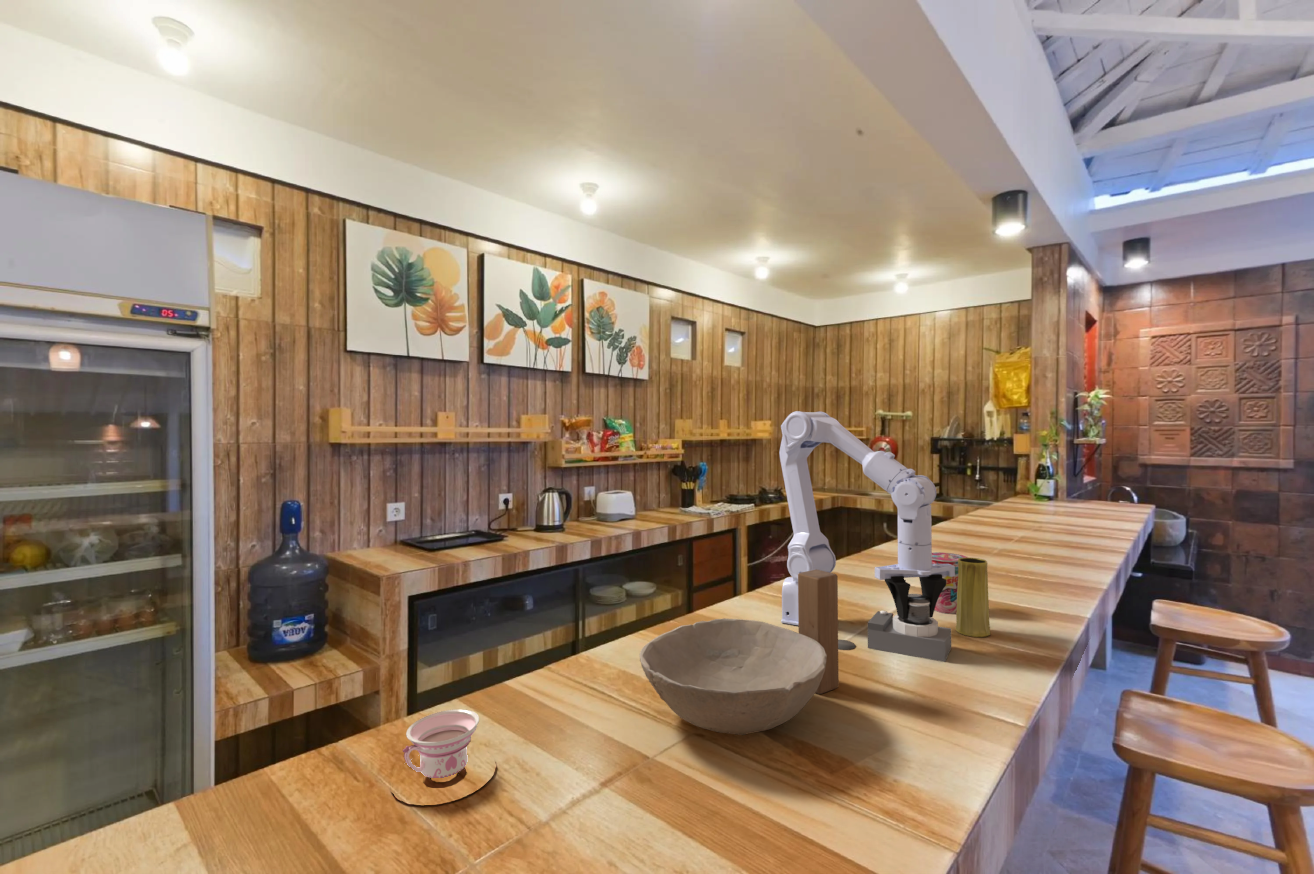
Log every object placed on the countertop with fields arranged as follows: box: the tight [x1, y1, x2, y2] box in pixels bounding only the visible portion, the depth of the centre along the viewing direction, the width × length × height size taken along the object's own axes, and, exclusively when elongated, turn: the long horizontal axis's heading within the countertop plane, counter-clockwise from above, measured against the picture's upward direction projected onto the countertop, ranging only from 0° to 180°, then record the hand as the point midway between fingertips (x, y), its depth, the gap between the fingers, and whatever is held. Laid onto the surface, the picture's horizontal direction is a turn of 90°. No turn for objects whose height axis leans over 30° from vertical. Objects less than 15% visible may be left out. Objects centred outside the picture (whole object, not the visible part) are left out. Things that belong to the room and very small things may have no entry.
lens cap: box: [838, 639, 856, 651], centre depth 113 cm, size 5×5×1 cm
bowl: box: [639, 618, 827, 736], centre depth 85 cm, size 26×26×10 cm
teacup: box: [402, 708, 480, 779], centre depth 72 cm, size 12×12×6 cm
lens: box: [904, 593, 930, 625], centre depth 110 cm, size 4×4×6 cm
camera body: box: [867, 610, 952, 663], centre depth 111 cm, size 13×8×5 cm, turn 57°
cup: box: [932, 552, 970, 615], centre depth 133 cm, size 9×8×12 cm
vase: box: [955, 557, 991, 638], centre depth 118 cm, size 6×6×14 cm
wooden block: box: [797, 569, 840, 695], centre depth 97 cm, size 9×4×18 cm, turn 33°
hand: (915, 616), depth 110 cm, fingers closed on lens, 4 cm apart
